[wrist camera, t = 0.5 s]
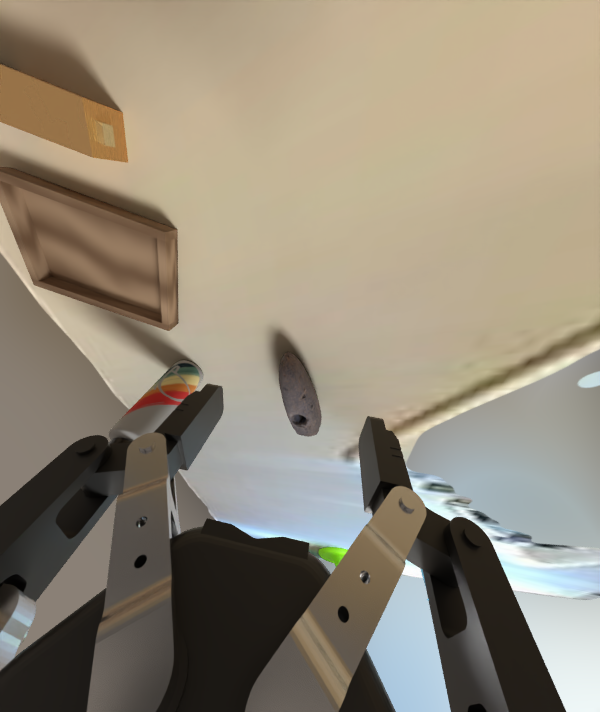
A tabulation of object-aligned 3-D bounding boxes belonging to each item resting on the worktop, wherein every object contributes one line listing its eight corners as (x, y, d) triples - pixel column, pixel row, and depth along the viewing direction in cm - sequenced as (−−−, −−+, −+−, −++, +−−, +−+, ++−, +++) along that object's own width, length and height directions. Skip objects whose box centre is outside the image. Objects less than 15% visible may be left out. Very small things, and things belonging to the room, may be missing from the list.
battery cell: (-13, 58, 22) (-83, 31, 18) (129, 115, 23) (90, 100, 19) (6, 115, 24) (-53, 101, 21) (134, 165, 25) (100, 160, 22)
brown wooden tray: (11, 167, 27) (-15, 165, 25) (177, 229, 28) (164, 232, 26) (51, 279, 35) (33, 284, 33) (178, 323, 37) (168, 331, 35)
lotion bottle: (195, 357, 40) (99, 466, 24) (209, 382, 44) (132, 493, 27) (168, 360, 42) (61, 466, 26) (183, 384, 45) (96, 491, 29)
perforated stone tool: (274, 346, 37) (263, 373, 31) (306, 341, 35) (300, 369, 30) (297, 409, 45) (291, 440, 39) (324, 408, 43) (322, 440, 38)
